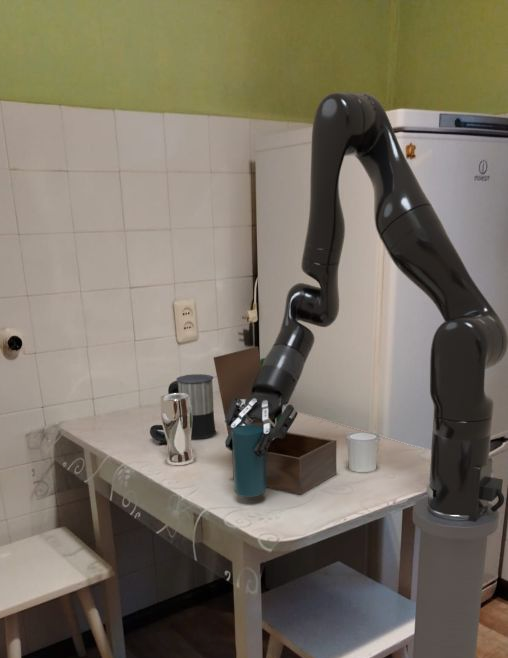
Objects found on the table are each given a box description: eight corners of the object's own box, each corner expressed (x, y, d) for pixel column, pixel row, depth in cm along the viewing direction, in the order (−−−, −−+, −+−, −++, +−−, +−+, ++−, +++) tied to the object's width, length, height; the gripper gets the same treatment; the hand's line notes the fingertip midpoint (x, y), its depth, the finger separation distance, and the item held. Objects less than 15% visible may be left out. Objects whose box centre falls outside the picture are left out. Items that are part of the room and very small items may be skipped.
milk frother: (222, 431, 167) (219, 374, 162) (194, 449, 154) (189, 388, 148) (175, 427, 173) (170, 372, 167) (143, 444, 159) (137, 385, 154)
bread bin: (336, 474, 133) (336, 440, 130) (300, 495, 123) (299, 459, 121) (271, 460, 143) (270, 429, 140) (233, 479, 133) (231, 445, 131)
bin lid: (257, 346, 136) (254, 346, 136) (216, 357, 126) (213, 357, 126) (271, 427, 140) (269, 427, 141) (232, 443, 130) (229, 443, 131)
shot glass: (339, 466, 137) (339, 435, 135) (365, 460, 140) (366, 429, 138) (359, 475, 132) (360, 443, 129) (385, 469, 134) (386, 437, 132)
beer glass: (188, 467, 142) (183, 400, 136) (160, 464, 144) (153, 399, 139) (200, 456, 148) (195, 393, 142) (172, 455, 150) (167, 392, 145)
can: (272, 488, 122) (270, 427, 117) (253, 499, 117) (251, 436, 113) (247, 482, 125) (245, 423, 121) (228, 492, 121) (224, 431, 117)
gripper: (240, 360, 123) (203, 435, 118) (303, 366, 114) (265, 448, 110) (257, 382, 128) (222, 454, 124) (319, 390, 120) (284, 468, 116)
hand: (243, 451), depth 117 cm, fingers closed on can, 6 cm apart
